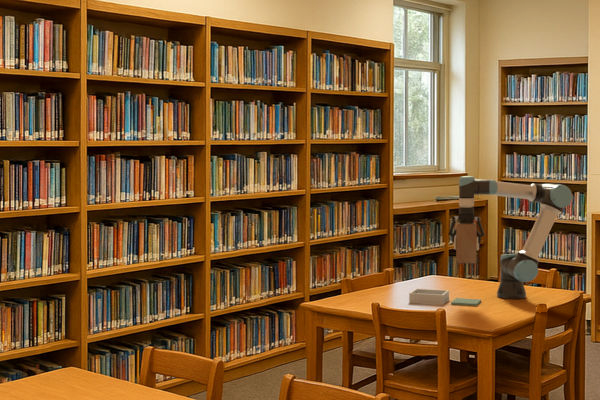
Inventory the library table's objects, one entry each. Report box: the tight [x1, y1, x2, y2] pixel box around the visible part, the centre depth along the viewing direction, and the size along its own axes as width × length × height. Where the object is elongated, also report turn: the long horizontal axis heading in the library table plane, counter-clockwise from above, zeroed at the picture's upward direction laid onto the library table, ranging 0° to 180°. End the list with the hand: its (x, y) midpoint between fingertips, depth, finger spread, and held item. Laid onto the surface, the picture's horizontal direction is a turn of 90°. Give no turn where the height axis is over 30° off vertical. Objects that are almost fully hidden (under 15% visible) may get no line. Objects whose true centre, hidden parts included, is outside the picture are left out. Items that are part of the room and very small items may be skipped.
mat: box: [450, 297, 482, 307], centre depth 426 cm, size 13×13×1 cm
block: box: [455, 222, 478, 264], centre depth 424 cm, size 10×10×20 cm
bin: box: [408, 288, 450, 306], centre depth 432 cm, size 18×15×5 cm
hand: (466, 249), depth 424 cm, fingers closed on block, 11 cm apart
